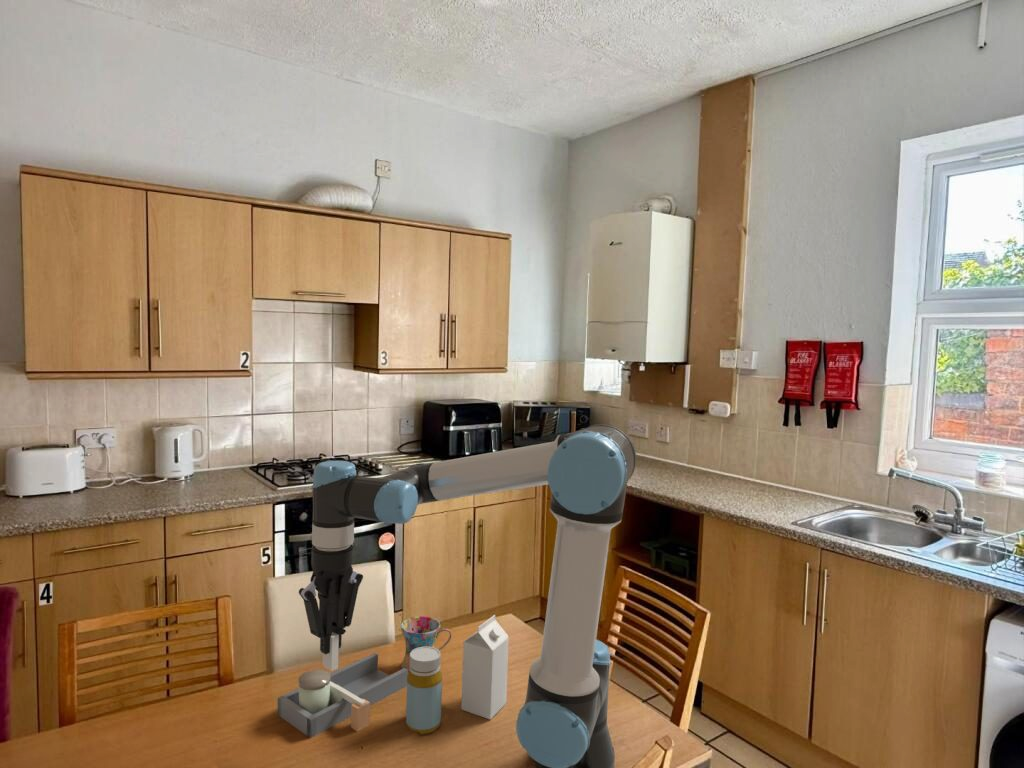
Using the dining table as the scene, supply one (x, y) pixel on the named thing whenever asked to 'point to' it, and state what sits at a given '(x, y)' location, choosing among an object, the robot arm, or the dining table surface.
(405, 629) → the mug
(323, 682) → the jar
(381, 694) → the grey tray
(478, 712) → the milk carton
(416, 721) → the bottle
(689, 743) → the dining table surface
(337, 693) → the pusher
